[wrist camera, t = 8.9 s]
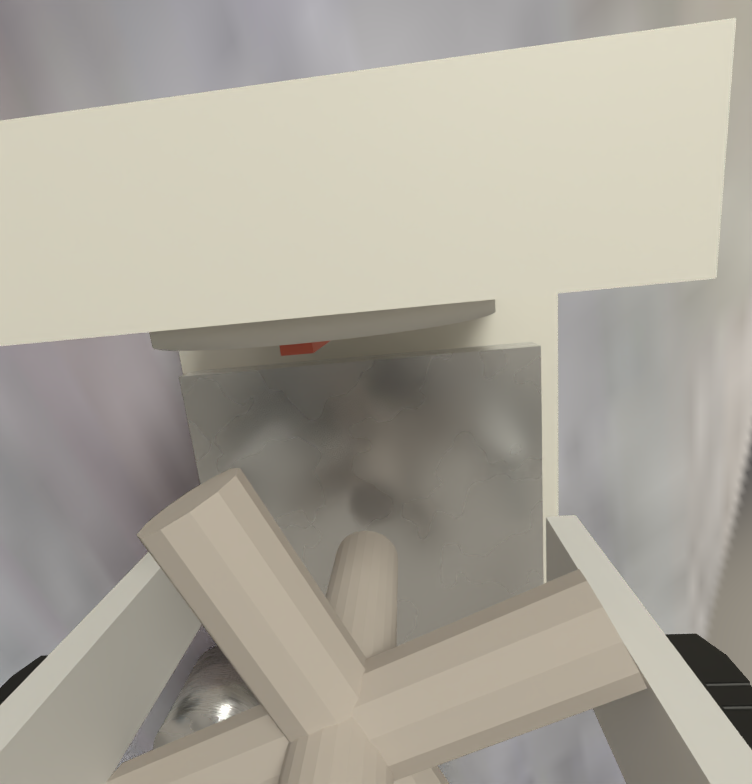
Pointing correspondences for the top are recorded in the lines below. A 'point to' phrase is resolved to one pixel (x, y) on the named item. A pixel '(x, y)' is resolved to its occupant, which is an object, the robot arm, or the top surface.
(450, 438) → the pan
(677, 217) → the scale base
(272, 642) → the cream toy jack
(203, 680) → the cylinder
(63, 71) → the top surface
